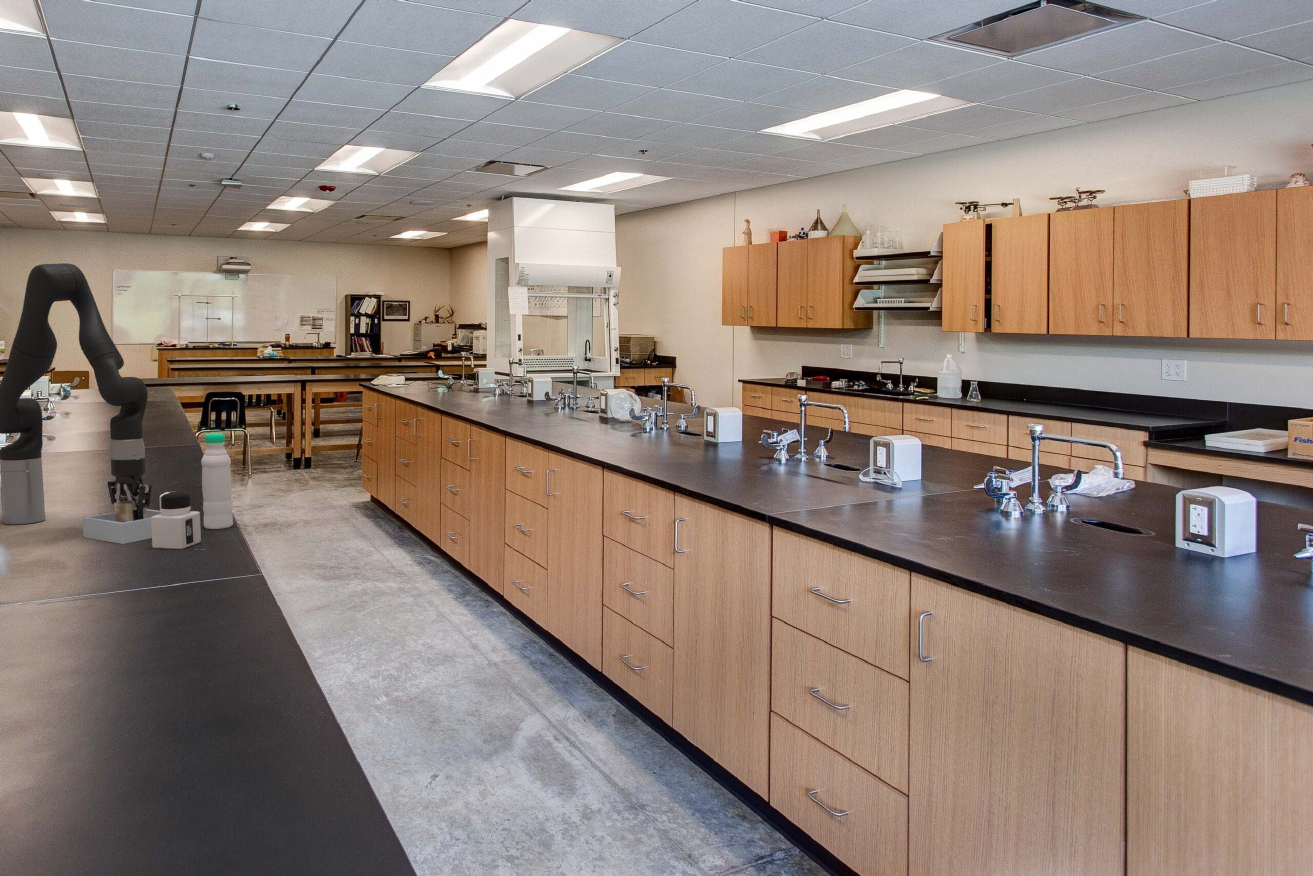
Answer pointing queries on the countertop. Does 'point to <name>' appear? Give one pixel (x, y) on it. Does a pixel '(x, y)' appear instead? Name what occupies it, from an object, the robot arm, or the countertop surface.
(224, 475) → the water bottle
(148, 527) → the gray bin
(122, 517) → the maple block
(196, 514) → the container
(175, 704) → the countertop surface
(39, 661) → the countertop surface
